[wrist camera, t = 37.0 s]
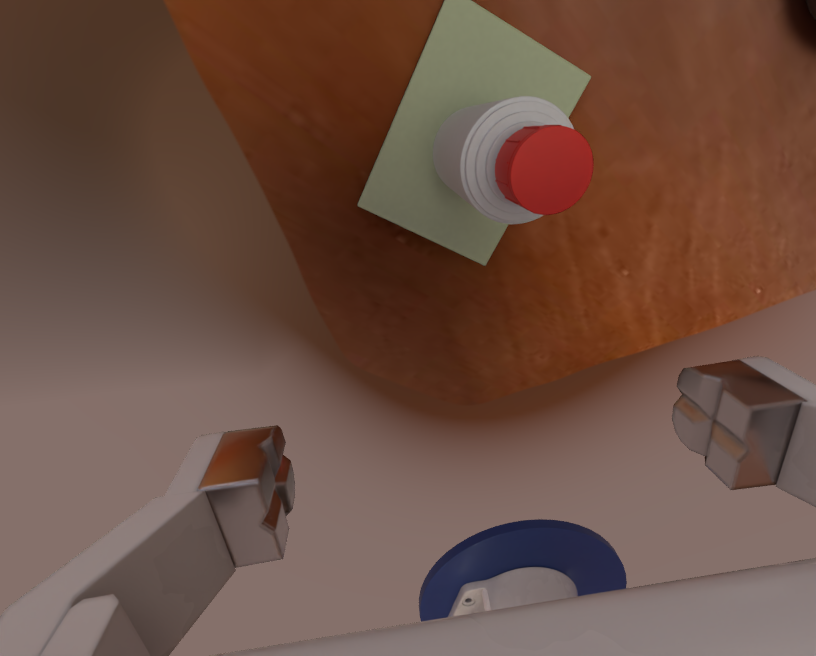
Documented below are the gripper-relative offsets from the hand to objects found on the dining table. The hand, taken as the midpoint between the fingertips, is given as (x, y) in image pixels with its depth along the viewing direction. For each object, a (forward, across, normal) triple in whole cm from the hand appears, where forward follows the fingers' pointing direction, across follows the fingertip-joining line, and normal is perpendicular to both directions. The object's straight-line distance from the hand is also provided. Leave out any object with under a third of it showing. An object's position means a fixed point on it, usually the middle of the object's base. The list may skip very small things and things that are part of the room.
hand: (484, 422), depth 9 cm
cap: (+13, -6, -3) cm, 15 cm away
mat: (+30, -6, -4) cm, 31 cm away
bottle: (+29, -7, -3) cm, 30 cm away
